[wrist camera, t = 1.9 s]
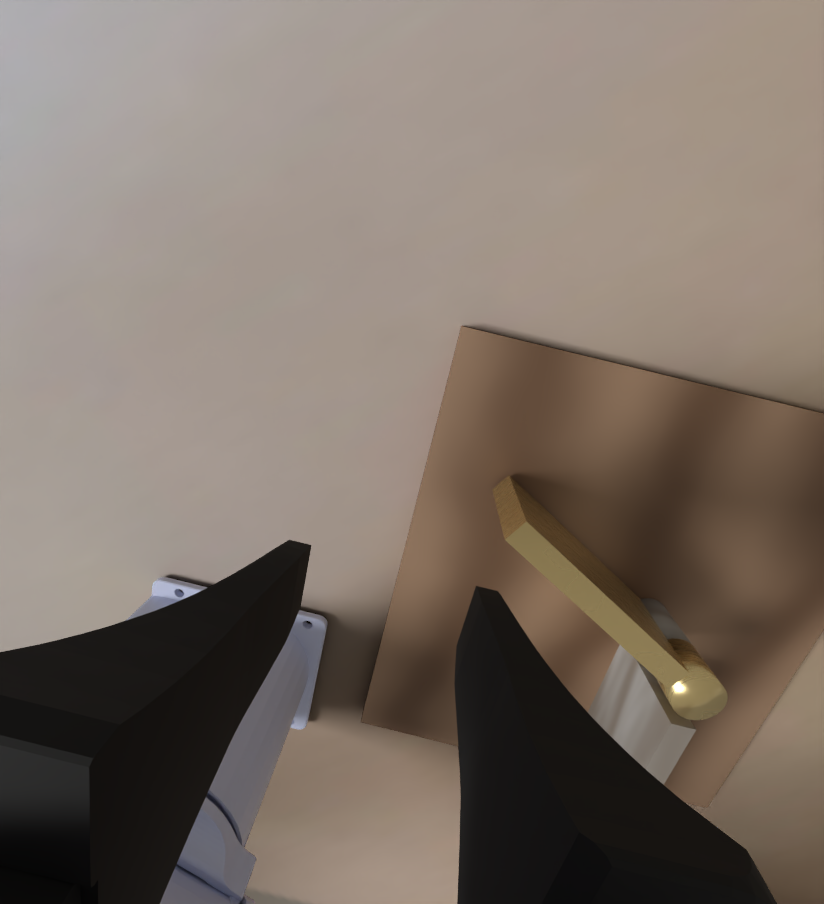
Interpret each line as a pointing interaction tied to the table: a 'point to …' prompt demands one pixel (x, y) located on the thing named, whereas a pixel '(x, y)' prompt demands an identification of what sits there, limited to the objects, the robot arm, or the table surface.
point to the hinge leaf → (608, 602)
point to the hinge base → (614, 545)
